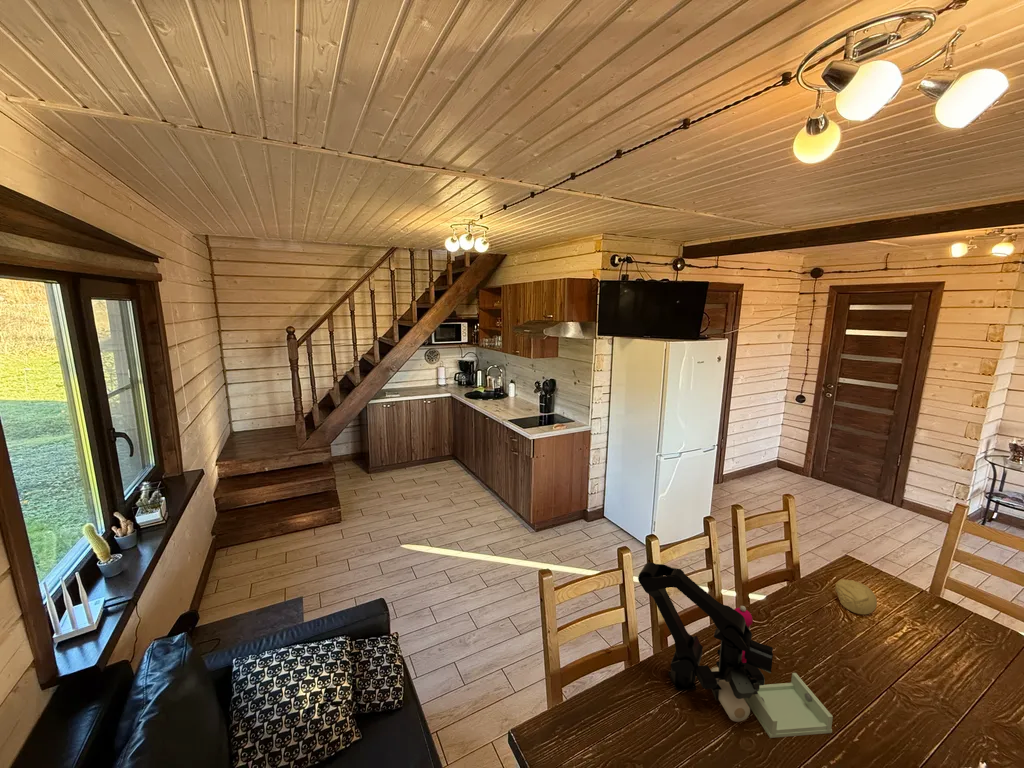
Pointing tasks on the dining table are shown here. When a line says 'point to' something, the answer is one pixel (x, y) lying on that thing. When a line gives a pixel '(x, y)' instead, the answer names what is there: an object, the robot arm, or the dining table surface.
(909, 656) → the dining table surface
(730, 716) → the kitchen roll
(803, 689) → the roll cradle
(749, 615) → the pepper mill
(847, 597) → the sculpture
